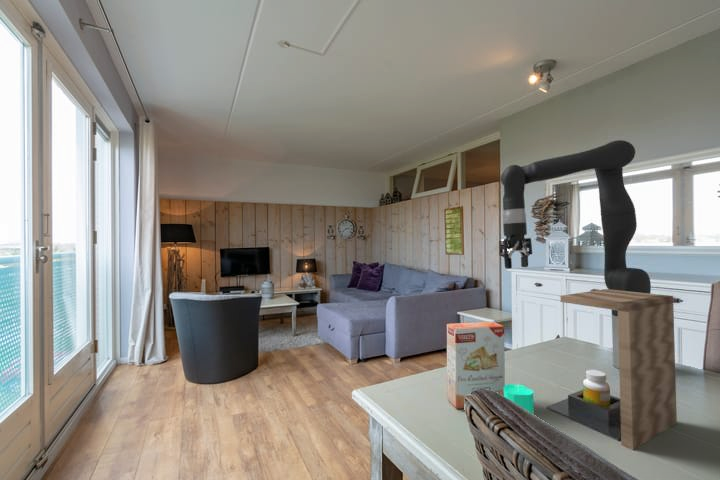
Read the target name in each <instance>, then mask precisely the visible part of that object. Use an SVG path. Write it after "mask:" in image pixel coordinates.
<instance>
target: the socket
mask: <svg viewBox="0 0 720 480" xmlns="http://www.w3.org/2000/svg"><path fill="white" fill-rule="evenodd" d="M545 408H546V409H547V410H549V411H552V412H554V413H556V414H558V415H560V416H562V417H565V418H567V419H569V420H571V421H574V422H576V423H578V424H581V425H583V426H584V427H588V428H590V429H591V430H593V431H595V432H598V433H600V434H602V435H604V436H607V437H609V438H611V439H613V440H615V441H618V442H620V441H621V412H620V397H616V396H614V395H611V394H610V406H607V407H603V406H600V405H598V404H595V403H592V402H590V401H587V400H585V399H583V389H581V390H578V391H575V392H573V393H569V394H568V395H567V398H565V399H563V400H560V401H558V402H555V403H552V404H550V405H547V406H546V407H545Z"/></svg>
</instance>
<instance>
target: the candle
mask: <svg viewBox="0 0 720 480" xmlns="http://www.w3.org/2000/svg"><path fill="white" fill-rule="evenodd" d="M519 383H520V382H519V381H518V382H517V384H512V383H507V384H505V386H504V397H506V398H507V399H509V400H511V401H513V402H515V403H516V404H518V405H519V406H521V407H522V408H524V409H526V410H527V411H529V412H530V413H532V414H534V413H535V412H534V411H535V409H534V390H533V389H530V388H528V387H526V386H525V385H523V384H519ZM534 415H535V414H534Z"/></svg>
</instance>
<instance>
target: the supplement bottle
mask: <svg viewBox="0 0 720 480" xmlns="http://www.w3.org/2000/svg"><path fill="white" fill-rule="evenodd" d="M585 375H586V376H585V377H586V378H584V379H583V382H582V387H583V389H582V390H583V399H585V400H587V401H590V402H592V403H595V404H598V405H600V406H603V407H607V406H610V395H611V387H610V385H609V383H608V382H607V374H606V373H605V372H603V371H601V370H597V369H587V370H586V371H585Z"/></svg>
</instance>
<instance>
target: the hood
mask: <svg viewBox="0 0 720 480" xmlns="http://www.w3.org/2000/svg"><path fill="white" fill-rule="evenodd" d="M559 297H560V302H561V303H564V304H565V303H566V304H573V305H578V306H586V307H592V308H599V309H606V310H611V311H612V310H618V339H619V368H618V369H619V370H618V371H619V373H618V375H619V398H620V412H621V440H620V441H621V442H620V443H621V444H620V445H621V446H623V447H626V448H628V449H630V450H631V451H634V450H635V449H637V448H638V447H641V445H644V444H645V443H647V442H649V441H650V440H652V439H654V438H655V437H657V436H659V435H660V434H662V433H664V432H666V431H667V430H668V429H670V428H672V427H673V426H676V425H677V423H678V419H677V418H678V417H677V414H678V413H677V385H676V383H677V380H676V354H675V353H676V350H675V348H676V347H675V344H676V343H675V319H674V317H675V315H674V311H675V310H674V295H667V294H666V295H665V294H659V293H658V294H657V293H650V294H649V293H639V292H629V291H620V290H610V289H608V288H604V289H598V290H591V291H584V292H577V293H570V294H564V295H560V296H559Z"/></svg>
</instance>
